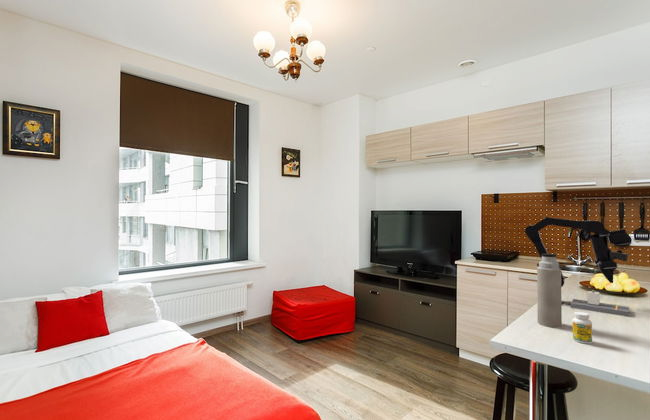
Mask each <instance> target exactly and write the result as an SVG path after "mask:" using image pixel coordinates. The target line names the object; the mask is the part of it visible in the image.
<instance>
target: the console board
mask: <svg viewBox="0 0 650 420" xmlns="http://www.w3.org/2000/svg"><path fill="white" fill-rule="evenodd" d="M569 305H570V308H571V309H578V310H585V311H591V312H598V313H603V314H609V315H615V316H623V317H629V315H630V306H626V305H619V304H611V303H605V302H604V303H603V302H600V303H599V305H595V304H588V303H587V300H584V299H577V298H573V299H572V300H571V301H570V304H569Z"/></svg>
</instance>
